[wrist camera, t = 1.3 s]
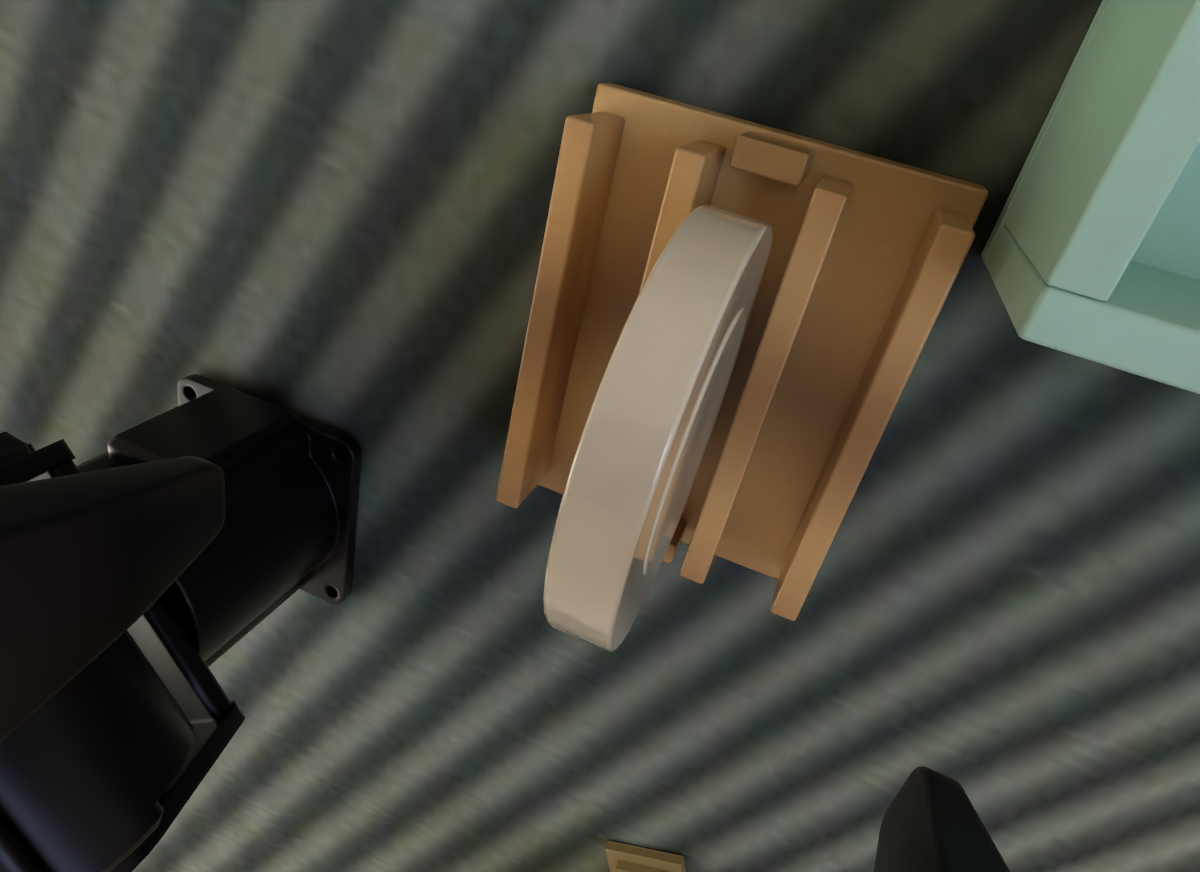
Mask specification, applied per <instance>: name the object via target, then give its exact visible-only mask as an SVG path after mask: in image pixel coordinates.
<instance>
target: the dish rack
mask: <svg viewBox="0 0 1200 872" xmlns="http://www.w3.org/2000/svg"><path fill="white" fill-rule="evenodd" d="M987 197H988V191H987V190H986V188H985V187H984V186H983V185H979V184H975V183H972V182H968V181H964V180H961V179H957V178H954V177H950V176H946V175H943V174H939V173H936V172H932V171H928V170H925V169H921V168H917V167H914V166H910V165H907V164H903V163H899V162H896V161H892V160H888V159H885V158H881V157H878V156H874V155H870V154H867V153H863V152H860V151H856V150H852V149H849V148H845V147H841V146H838V145H834V144H831V143H827V142H823V141H820V140H816V139H812V138H809V137H805V136H802V135H798V134H794V133H791V132H787V131H783V130H780V129H776V128H773V127H769V126H765V125H762V124H758V123H755V122H751V121H747V120H744V119H740V118H736V117H733V116H729V115H726V114H722V113H718V112H715V111H711V110H707V109H704V108H700V107H697V106H693V105H689V104H686V103H682V102H679V101H675V100H671V99H668V98H664V97H660V96H657V95H653V94H650V93H646V92H642V91H639V90H635V89H631V88H628V87H624V86H621V85H617V84H613V83H601V84H599V85H598V86H597V90H596V96H595V101H594V106H593V111H592V113H587V114H579V115H571V116H567V118H566V120H565V126H564V131H563V136H562V142H561V147H560V153H559V158H558V164H557V169H556V175H555V180H554V186H553V191H552V196H551V202H550V207H549V213H548V218H547V224H546V229H545V235H544V240H543V245H542V251H541V256H540V262H539V267H538V273H537V278H536V284H535V289H534V295H533V300H532V305H531V311H530V316H529V322H528V327H527V333H526V338H525V344H524V349H523V354H522V360H521V365H520V371H519V376H518V382H517V387H516V393H515V398H514V403H513V409H512V414H511V420H510V425H509V431H508V436H507V442H506V447H505V453H504V458H503V463H502V469H501V474H500V480H499V485H498V491H497V496H496V500H497V501H498V502H500V503H503V504H505V505H508V506H510V507H513V508H517V507H518V506H519V505H520V504H521V503H522V502H523V500H524V499H525V498H526V497H527V496H528V495H529V494H530V492H531V491H532V490H533V489H534V488H535V487H536V486H537V485H540V486H542V487H545V488H547V489H550V490H553V491H555V492H558V493H560V494H563V493H564V489H565V486H566V483H567V479H568V476H569V472H570V469H571V466H572V462H573V459H574V456H575V453H576V450H577V447H578V444H579V441H580V438H581V435H582V432H583V429H584V426H585V423H586V421H587V418H588V415H589V412H590V409H591V407H592V404H593V401H594V398H595V396H596V393H597V390H598V388H599V385H600V383H601V380H602V378H603V375H604V372H605V370H606V367H607V365H608V362H609V360H610V357H611V355H612V353H613V350H614V348H615V346H616V343H617V341H618V339H619V336H620V334H621V332H622V329H623V327H624V325H625V323H626V320H627V318H628V316H629V314H630V312H631V310H632V308H633V305H634V303H635V301H636V299H637V297H638V295H639V293H640V291H641V289H642V287H643V285H644V283H645V281H646V279H647V277H648V275H649V273H650V271H651V270H652V268H653V266H654V264H655V263H656V261H657V259H658V257H659V256H660V254H661V252H662V250H663V249H664V247H665V245H666V244H667V242H668V241H669V239H670V238H671V236H672V235H673V233H674V232H675V230H676V229H677V228H678V226H679V225H680V224H681V223H682V222H683V220H684V219H685V218H686V217H687V215H688V214H690V213H691V212H692V211H693V210H694V209H695V208H697V207H699V206H702V205H708V206H712V207H715V208H718V209H722V210H725V211H728V212H732V213H735V214H738V215H742V216H745V217H748V218H751V219H755V220H758V221H761V222H765V223H768V224H769V225H770V226H771V228H772V243H771V249H770V255H769V259H768V264H767V268H766V272H765V276H764V280H763V283H762V287H761V290H760V294H759V297H758V301H757V304H756V308H755V311H754V314H753V318H752V321H751V324H750V327H749V330H748V334H747V337H746V340H745V343H744V346H743V349H742V352H741V355H740V358H739V361H738V364H737V367H736V370H735V373H734V376H733V379H732V382H731V385H730V387H729V390H728V393H727V396H726V399H725V402H724V405H723V407H722V410H721V413H720V416H719V419H718V421H717V424H716V427H715V430H714V432H713V435H712V438H711V440H710V443H709V446H708V448H707V451H706V454H705V456H704V459H703V462H702V464H701V467H700V470H699V472H698V475H697V477H696V480H695V483H694V485H693V488H692V490H691V493H690V495H689V498H688V500H687V503H686V505H685V508H684V510H683V513H682V515H681V518H680V520H679V523H678V525H677V528H676V530H675V533H674V535H673V537H672V540H671V542H670V544H669V547H668V549H667V552H666V554H665V556H664V559H663V561H664V562H667V563H671V562H672V560H673V558H674V556H675V554H676V552H677V549H678V547H679V545H680V543H681V542H684V543H686V544H689V547H688V550H687V553H686V556H685V559H684V562H683V564H682V567H681V570H680V575H681V576H682V577H685V578H687V579H690V580H692V581H695V582H697V583H700V584H703V583H704V581H705V578H706V576H707V573H708V570H709V568H710V565H711V562H712V560H713V557H714V555H717V556H719V557H722V558H724V559H727V560H729V561H732V562H734V563H737V564H739V565H742V566H745V567H747V568H750V569H752V570H755V571H757V572H760V573H762V574H765V575H767V576H770V577H772V578H775V579H777V584H776V588H775V592H774V597H773V601H772V605H771V612H772V613H774V614H777V615H779V616H782V617H784V618H786V619H789V620H791V621H794V620H796V618H797V616H798V614H799V612H800V610H801V608H802V606H803V603H804V601H805V599H806V597H807V595H808V593H809V591H810V588H811V586H812V584H813V582H814V580H815V578H816V576H817V574H818V571H819V569H820V567H821V565H822V563H823V561H824V559H825V556H826V554H827V552H828V550H829V548H830V546H831V544H832V541H833V539H834V537H835V535H836V533H837V531H838V529H839V526H840V524H841V522H842V520H843V518H844V516H845V514H846V512H847V509H848V507H849V505H850V503H851V501H852V499H853V497H854V494H855V492H856V490H857V488H858V486H859V484H860V482H861V479H862V477H863V475H864V473H865V471H866V469H867V467H868V465H869V462H870V460H871V458H872V456H873V454H874V452H875V450H876V447H877V445H878V443H879V441H880V439H881V437H882V435H883V432H884V430H885V428H886V426H887V424H888V422H889V420H890V417H891V415H892V413H893V411H894V409H895V407H896V405H897V403H898V400H899V398H900V396H901V394H902V392H903V390H904V388H905V385H906V383H907V381H908V379H909V377H910V375H911V373H912V370H913V368H914V366H915V364H916V362H917V360H918V358H919V355H920V353H921V351H922V349H923V347H924V345H925V343H926V341H927V338H928V336H929V334H930V332H931V330H932V328H933V326H934V323H935V321H936V319H937V317H938V315H939V313H940V311H941V308H942V306H943V304H944V302H945V300H946V298H947V296H948V294H949V291H950V289H951V287H952V285H953V283H954V281H955V279H956V276H957V274H958V272H959V270H960V268H961V266H962V264H963V261H964V259H965V257H966V255H967V253H968V251H969V249H970V246H971V244H972V242H973V240H974V238H975V233H974V231H973V227H974V225H975V223H976V220H977V218H978V216H979V214H980V212H981V210H982V207H983V205H984V203H985V201H986V199H987Z"/></svg>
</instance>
